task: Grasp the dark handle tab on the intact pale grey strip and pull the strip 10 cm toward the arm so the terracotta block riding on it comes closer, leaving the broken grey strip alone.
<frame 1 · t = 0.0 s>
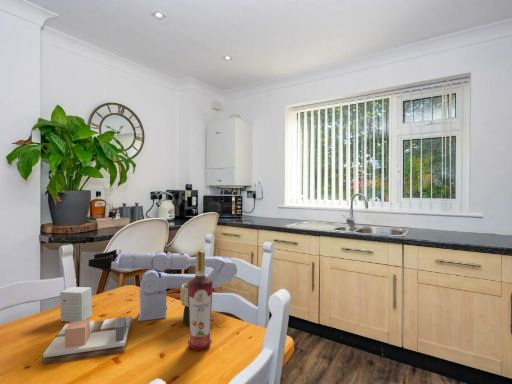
hand: (91, 260, 101), 22 cm above the table, tool horizontal, fingers open, 7 cm apart
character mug: (191, 323, 101), on the table
strip: (89, 334, 85), point 4 cm above the table, slide at 0.0 cm, touching block
block: (77, 341, 84), point 2 cm above the table, touching strip
small box: (76, 319, 104), on the table
liquor: (200, 346, 86), on the table
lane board: (93, 339, 90), on the table
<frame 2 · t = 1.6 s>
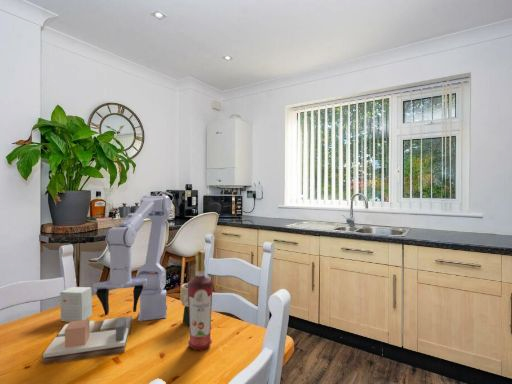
hand: (121, 312, 88), 9 cm above the table, tool pointing down, fingers open, 7 cm apart
nothing on the table moved.
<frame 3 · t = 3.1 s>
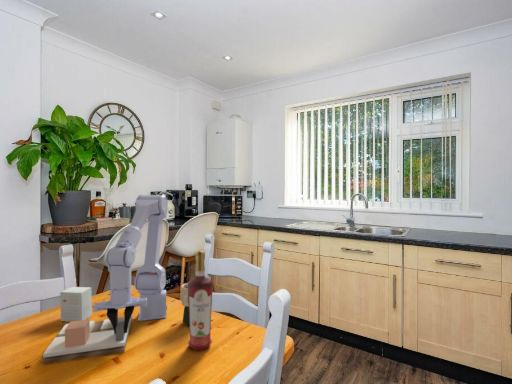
hand: (121, 332, 88), 3 cm above the table, tool pointing down, fingers closed on strip, 2 cm apart
strip: (89, 334, 85), point 4 cm above the table, slide at 0.0 cm, touching block, gripper
everything else where it was.
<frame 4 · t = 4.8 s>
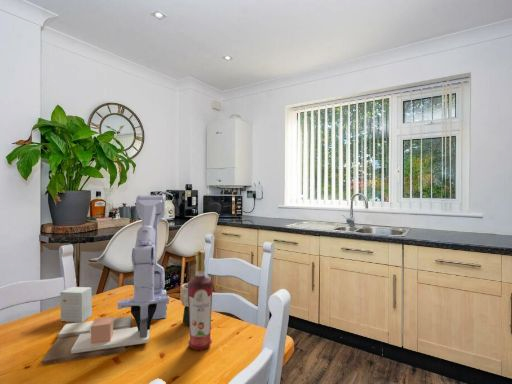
hand: (144, 328, 90), 3 cm above the table, tool pointing down, fingers closed on strip, 2 cm apart
strip: (113, 331, 87), point 4 cm above the table, slide at 6.5 cm, touching block, gripper
block: (102, 338, 86), point 2 cm above the table, touching strip
everything else where it was.
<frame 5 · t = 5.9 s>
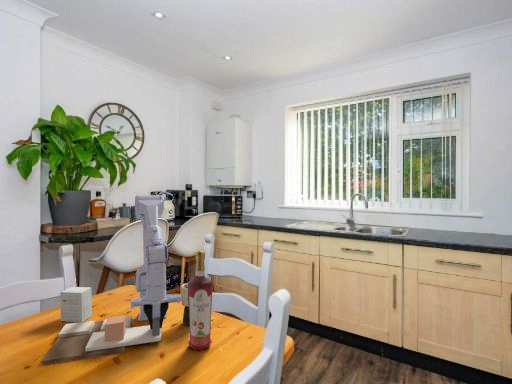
hand: (156, 327, 91), 3 cm above the table, tool pointing down, fingers closed on strip, 2 cm apart
strip: (126, 329, 88), point 4 cm above the table, slide at 10.0 cm, touching block, gripper
block: (115, 336, 87), point 2 cm above the table, touching strip
everything else where it was.
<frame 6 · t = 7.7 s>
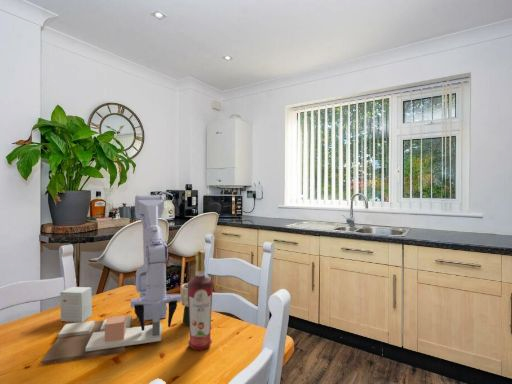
hand: (156, 327, 91), 3 cm above the table, tool pointing down, fingers open, 7 cm apart
strip: (126, 329, 88), point 4 cm above the table, slide at 10.0 cm, touching block
everything else where it was.
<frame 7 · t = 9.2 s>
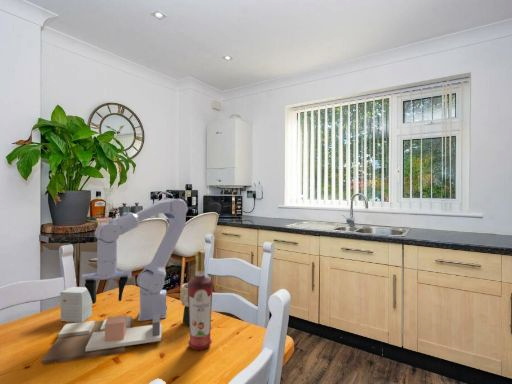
hand: (107, 301, 96), 9 cm above the table, tool pointing down, fingers open, 7 cm apart
nothing on the table moved.
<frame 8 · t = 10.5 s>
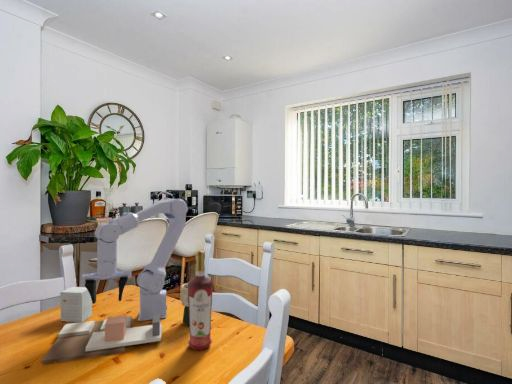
hand: (107, 301, 96), 9 cm above the table, tool pointing down, fingers open, 7 cm apart
nothing on the table moved.
at the end: strip slide at 10.0 cm; block inside the target area (0.0 cm from its centre), point 2.3 cm above the table; block tilted 0° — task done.
